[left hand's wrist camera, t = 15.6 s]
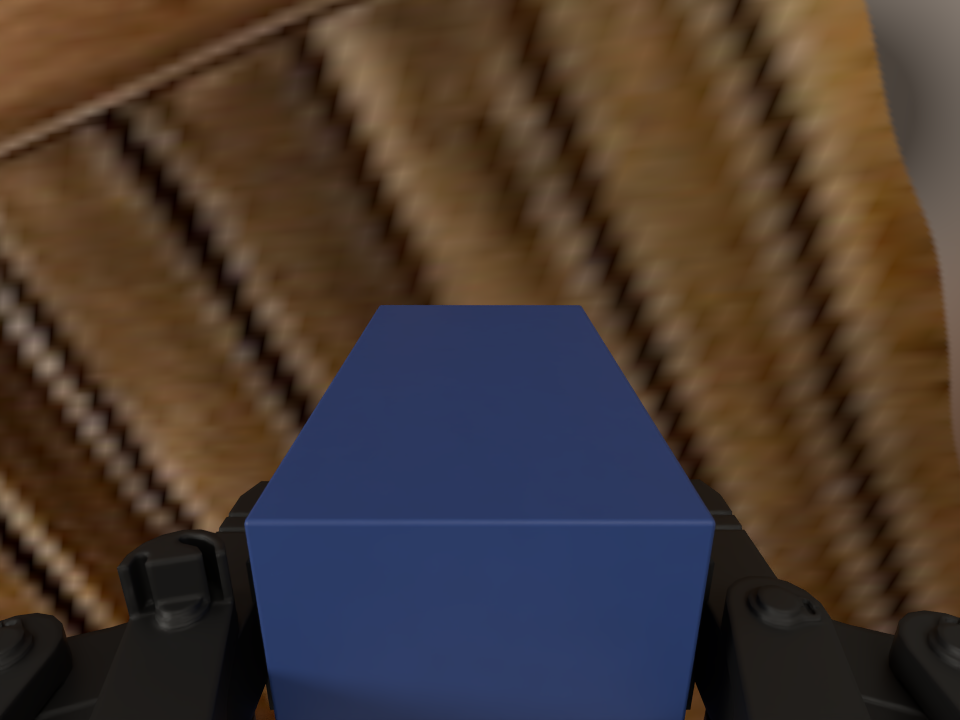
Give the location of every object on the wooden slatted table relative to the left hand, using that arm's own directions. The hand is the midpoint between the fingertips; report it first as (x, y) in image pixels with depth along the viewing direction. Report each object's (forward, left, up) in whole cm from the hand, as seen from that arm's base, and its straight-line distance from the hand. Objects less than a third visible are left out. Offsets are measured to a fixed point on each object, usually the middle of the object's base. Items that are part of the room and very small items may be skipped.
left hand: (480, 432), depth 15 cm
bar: (-7, +4, -1) cm, 8 cm away
